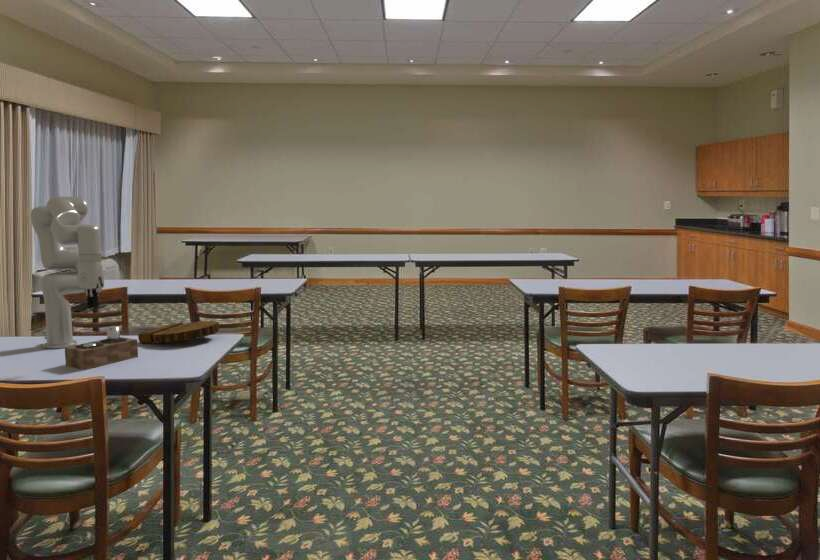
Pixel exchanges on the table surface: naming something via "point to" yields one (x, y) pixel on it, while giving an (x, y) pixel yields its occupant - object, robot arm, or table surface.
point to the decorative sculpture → (179, 332)
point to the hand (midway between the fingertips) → (92, 306)
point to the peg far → (113, 333)
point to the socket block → (100, 353)
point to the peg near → (89, 344)
